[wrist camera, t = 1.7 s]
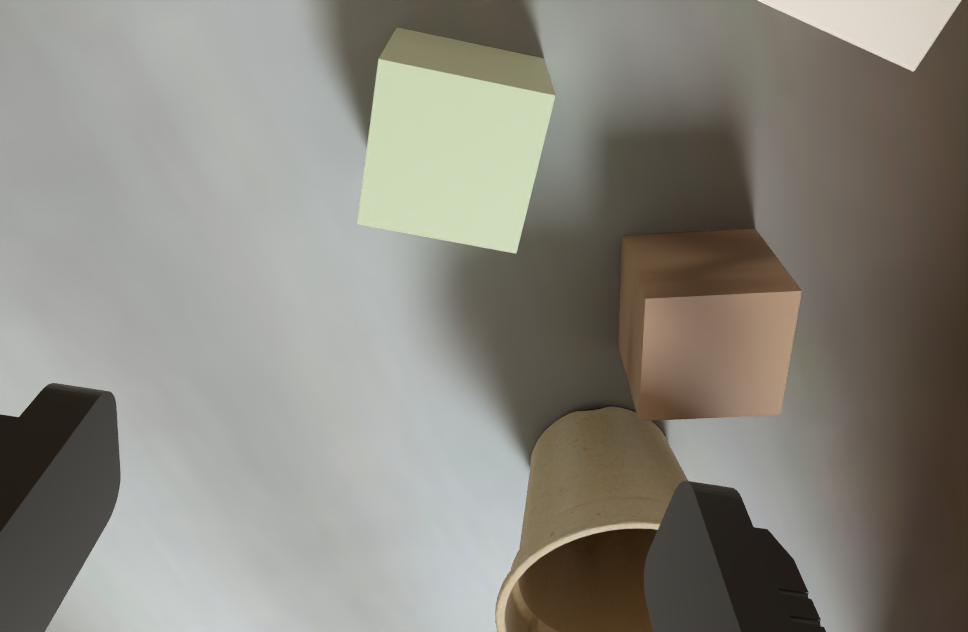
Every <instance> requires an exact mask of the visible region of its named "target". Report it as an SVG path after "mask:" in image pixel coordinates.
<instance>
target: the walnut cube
mask: <svg viewBox="0 0 968 632" xmlns="http://www.w3.org/2000/svg"><path fill="white" fill-rule="evenodd" d="M801 293H802V290H801V289H800V288H799V286H798V285H797V284H796V282H795V281H794V280H793V278H792V277H791V276H790V274H789V273H788V272H787V270H786V269H785V268H784V266H783V265H782V264H781V262H780V261H779V260H778V258H777V257H776V256H775V254H774V253H773V252H772V250H771V249H770V248H769V246H768V245H767V244H766V242H765V241H764V240H763V238H762V237H761V236H760V234H759V233H758V232H757V230H756V229H755V228H754V229H736V230H717V231H698V232H680V233H661V234H643V235H624V236H622V252H621V281H620V310H619V339H618V347H619V351H620V355H621V358H622V362H623V366H624V369H625V373H626V377H627V380H628V384H629V387H630V391H631V395H632V398H633V402H634V406H635V409H636V413H637V416H638V420H639V421H651V420H674V419H696V418H718V417H740V416H762V415H781V409H782V403H783V397H784V392H785V386H786V380H787V374H788V368H789V362H790V357H791V351H792V345H793V339H794V333H795V328H796V322H797V316H798V310H799V304H800V299H801Z"/></svg>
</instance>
